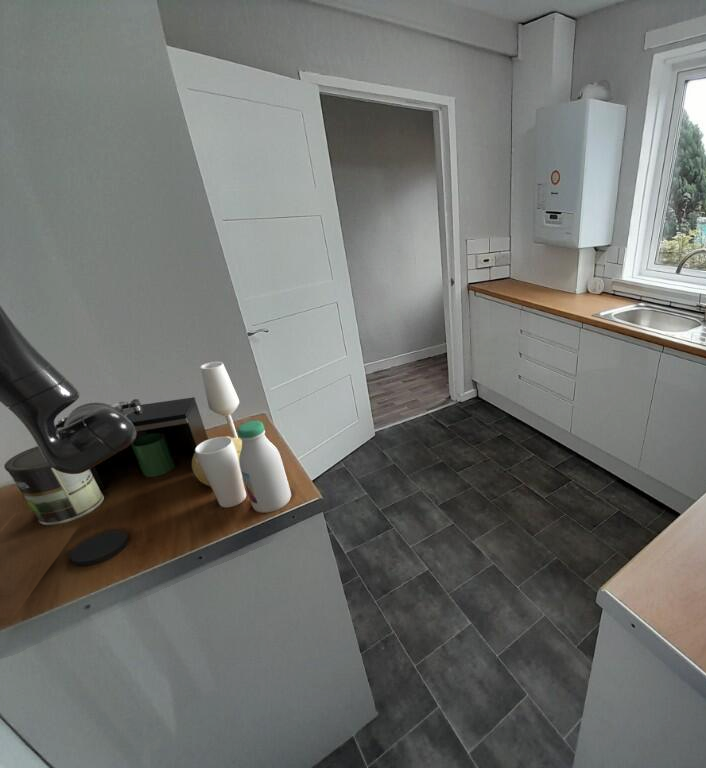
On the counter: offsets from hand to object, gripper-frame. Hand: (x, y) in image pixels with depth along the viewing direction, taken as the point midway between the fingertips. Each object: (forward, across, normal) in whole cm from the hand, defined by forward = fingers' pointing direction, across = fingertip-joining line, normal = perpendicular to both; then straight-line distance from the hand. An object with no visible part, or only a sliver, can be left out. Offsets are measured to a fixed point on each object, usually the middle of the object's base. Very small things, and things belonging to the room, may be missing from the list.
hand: (97, 414), depth 87 cm
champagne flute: (+9, -22, +20) cm, 31 cm away
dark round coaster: (-14, +8, +23) cm, 28 cm away
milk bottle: (-22, -20, +27) cm, 40 cm away
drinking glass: (-16, -14, +25) cm, 33 cm away
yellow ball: (-6, -16, +23) cm, 29 cm away
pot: (+9, -5, +19) cm, 21 cm away
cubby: (+9, -5, +18) cm, 21 cm away
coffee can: (+5, +11, +19) cm, 22 cm away
